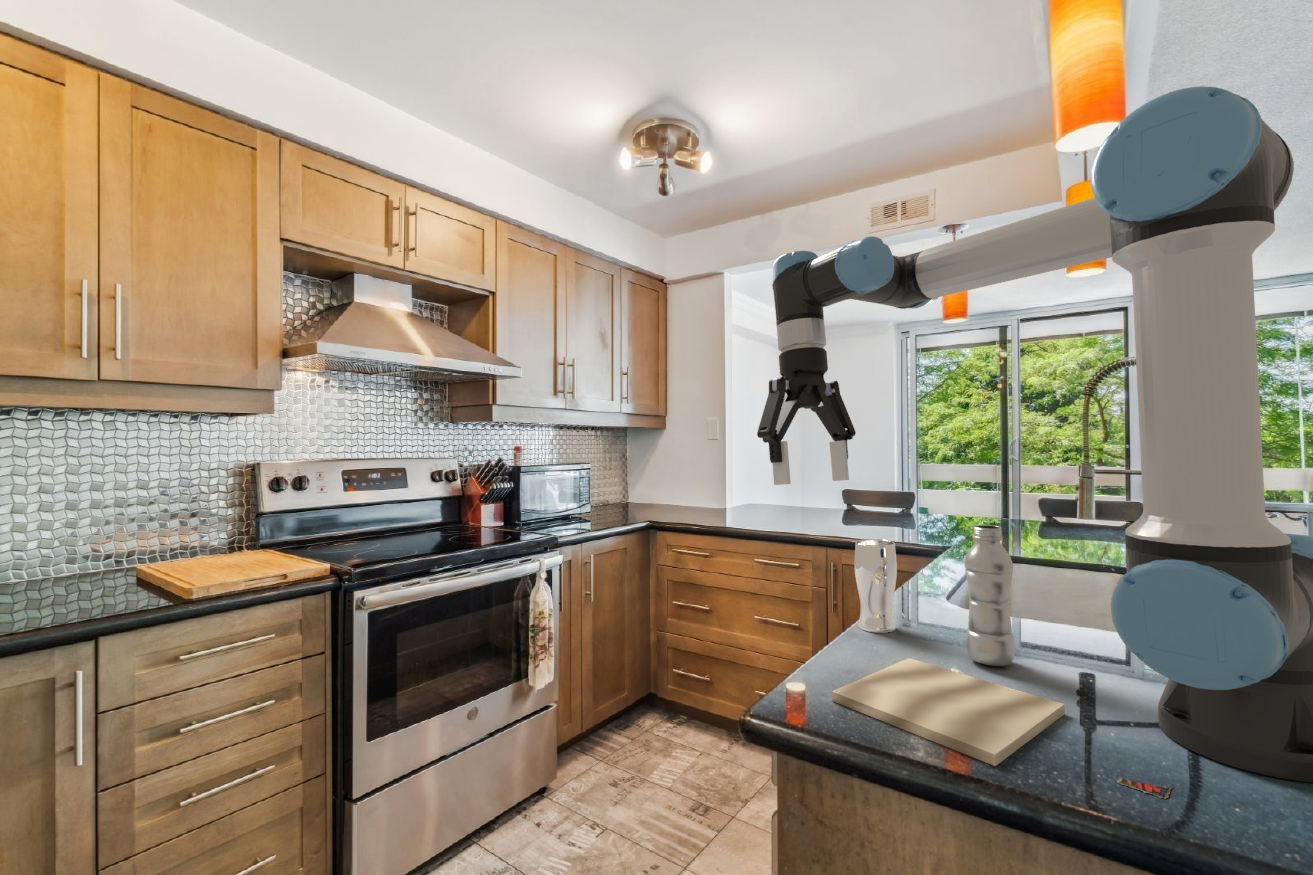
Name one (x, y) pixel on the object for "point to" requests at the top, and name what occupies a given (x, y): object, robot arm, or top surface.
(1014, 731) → the birch board
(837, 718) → the top surface
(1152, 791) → the red brown flat piece
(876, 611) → the beer glass
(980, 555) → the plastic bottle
